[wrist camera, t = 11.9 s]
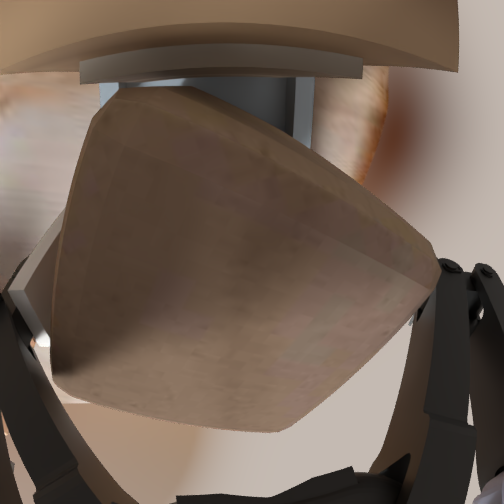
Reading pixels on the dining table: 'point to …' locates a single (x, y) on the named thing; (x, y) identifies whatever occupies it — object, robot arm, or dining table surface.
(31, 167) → the dining table surface
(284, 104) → the blue-grey tray
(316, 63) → the brown block
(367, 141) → the dining table surface
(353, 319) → the wooden block
